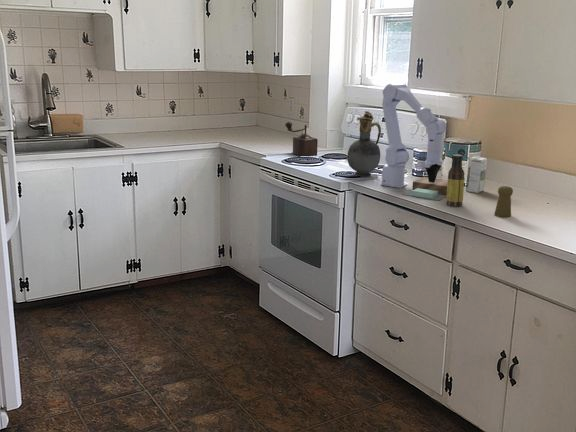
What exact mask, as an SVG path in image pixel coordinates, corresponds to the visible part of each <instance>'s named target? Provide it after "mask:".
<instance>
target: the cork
mask: <svg viewBox="0 0 576 432" xmlns="http://www.w3.org/2000/svg"><path fill="white" fill-rule="evenodd" d="M497 193H498V198H497V202H496V206H495V210H494V214H493V216H495V217H498V218H503V219H504V218H506V219H509V218H511V217H512V202H511V201H512V196H513V193H514V190H513V188H512V187H511V186H508V185H502V186H500V187H498V189H497Z"/></svg>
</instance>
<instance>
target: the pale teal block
mask: <svg viewBox="0 0 576 432" xmlns="http://www.w3.org/2000/svg"><path fill="white" fill-rule="evenodd" d="M411 190H412V189H411ZM413 196H418V197H417V198H420V197H425V198H424V199H426V198H431V199H430V200H433V198H435V197H437V196H438V191H434V190H427V189H420V188H417V189H415V190H412V196H411V197H413Z"/></svg>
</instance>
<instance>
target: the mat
mask: <svg viewBox="0 0 576 432" xmlns="http://www.w3.org/2000/svg"><path fill="white" fill-rule="evenodd" d="M401 195H403V196H407V197H414V198H421V199H428V200H433V201H434V200H435V201H441V200H442V199H444V198H447V196H446V195H440V194H438V196H437V197H435V198H433V199H431V198H425V197H418V196H412V189H411V190H408V191H406V192H403V193H401Z"/></svg>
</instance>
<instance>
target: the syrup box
mask: <svg viewBox="0 0 576 432" xmlns="http://www.w3.org/2000/svg"><path fill="white" fill-rule="evenodd" d="M468 161H469V162H468V168H467V177H466V186H465V187H466V188H465V191H466V192H469V193H475V194H478V193H482V192H484V191H485V181H486V172H487V167H488V166H487V165H488V158H486V157H481V156H474V157H470V158H469V159H468Z"/></svg>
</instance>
